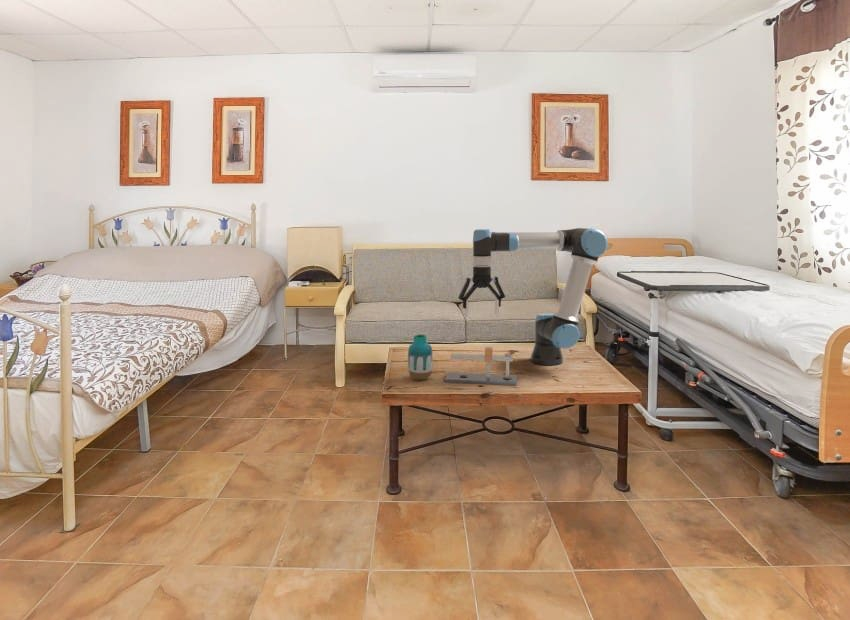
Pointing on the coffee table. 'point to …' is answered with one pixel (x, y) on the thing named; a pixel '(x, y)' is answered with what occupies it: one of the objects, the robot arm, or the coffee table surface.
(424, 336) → the vase
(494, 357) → the bar
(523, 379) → the coffee table surface
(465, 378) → the flange plate
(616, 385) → the coffee table surface
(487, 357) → the block
